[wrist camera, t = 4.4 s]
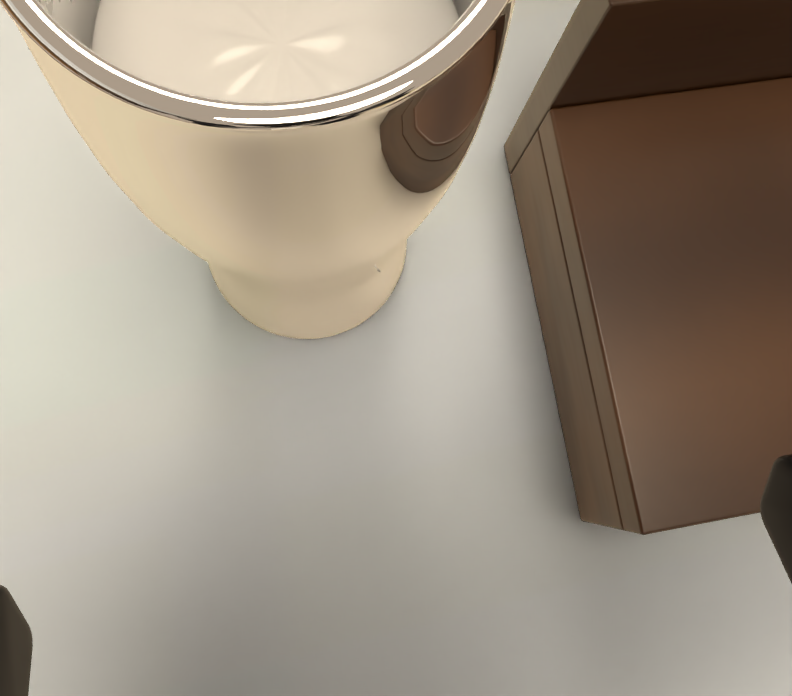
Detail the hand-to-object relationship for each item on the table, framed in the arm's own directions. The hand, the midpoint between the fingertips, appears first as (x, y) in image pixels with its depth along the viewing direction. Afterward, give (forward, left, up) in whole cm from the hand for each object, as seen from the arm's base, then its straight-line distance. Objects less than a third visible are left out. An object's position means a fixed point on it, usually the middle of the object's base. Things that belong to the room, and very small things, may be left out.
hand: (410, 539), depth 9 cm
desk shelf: (+12, -7, -14) cm, 19 cm away
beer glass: (+6, +6, -14) cm, 16 cm away
